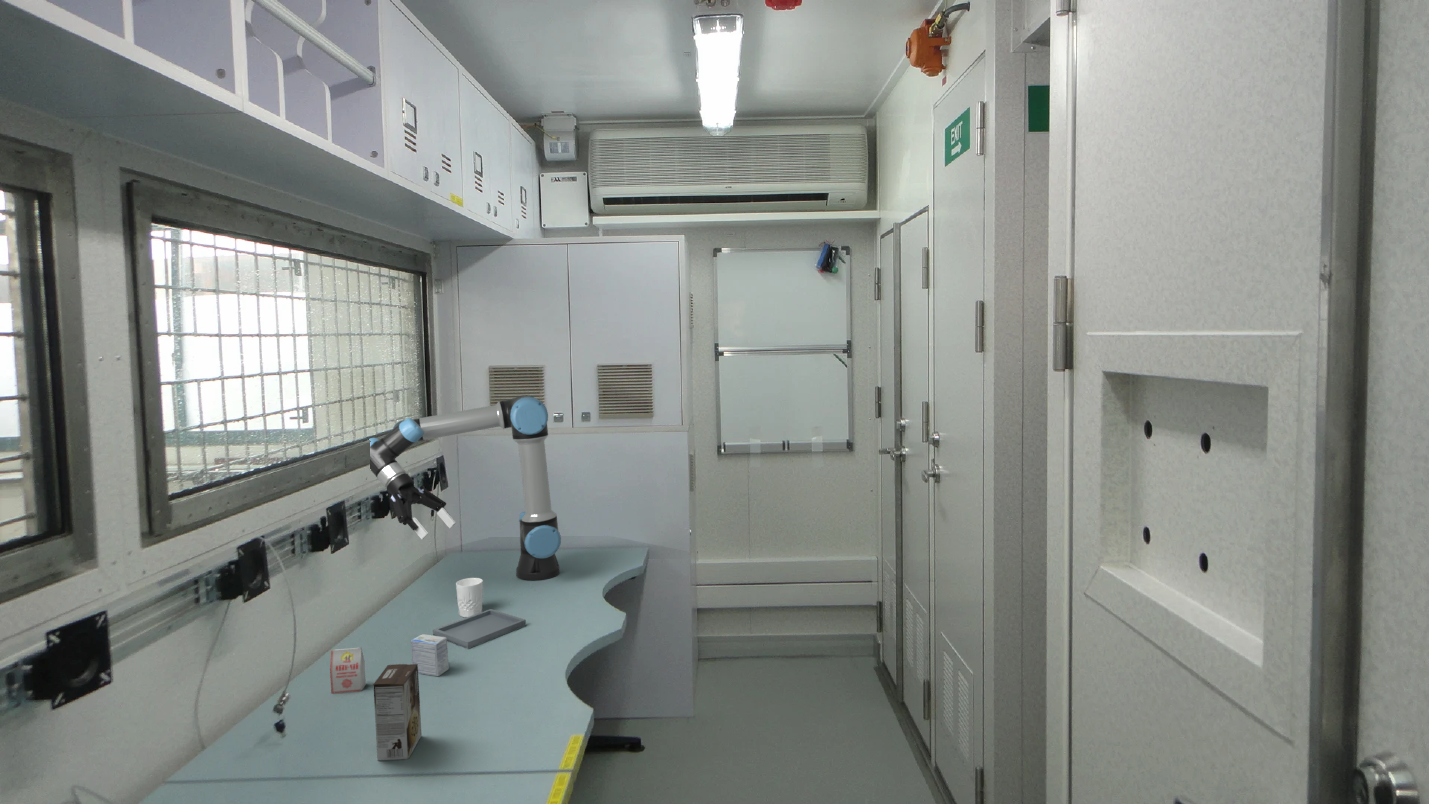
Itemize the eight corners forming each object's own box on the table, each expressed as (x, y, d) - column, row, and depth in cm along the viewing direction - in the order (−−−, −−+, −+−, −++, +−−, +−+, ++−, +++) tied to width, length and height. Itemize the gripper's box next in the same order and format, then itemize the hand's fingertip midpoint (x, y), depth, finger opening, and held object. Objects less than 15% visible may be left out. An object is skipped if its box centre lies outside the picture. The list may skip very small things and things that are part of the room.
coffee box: (391, 737, 160) (387, 664, 159) (422, 735, 161) (419, 662, 159) (375, 761, 151) (371, 683, 150) (408, 759, 152) (405, 682, 150)
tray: (491, 614, 231) (490, 608, 231) (525, 625, 222) (525, 619, 221) (433, 635, 215) (432, 629, 215) (467, 648, 205) (467, 642, 205)
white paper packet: (336, 686, 184) (333, 647, 183) (365, 684, 185) (363, 644, 184) (331, 693, 180) (329, 653, 180) (361, 691, 182) (359, 650, 181)
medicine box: (449, 669, 193) (447, 637, 192) (437, 677, 188) (436, 643, 188) (424, 665, 195) (422, 633, 194) (411, 673, 191) (410, 640, 190)
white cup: (488, 609, 236) (486, 578, 235) (477, 618, 228) (476, 586, 227) (463, 608, 236) (462, 577, 235) (452, 618, 228) (451, 585, 228)
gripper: (415, 481, 248) (456, 528, 246) (360, 496, 225) (405, 549, 222) (428, 465, 247) (470, 513, 244) (374, 479, 223) (419, 533, 220)
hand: (439, 531), depth 233 cm, fingers open, 13 cm apart
